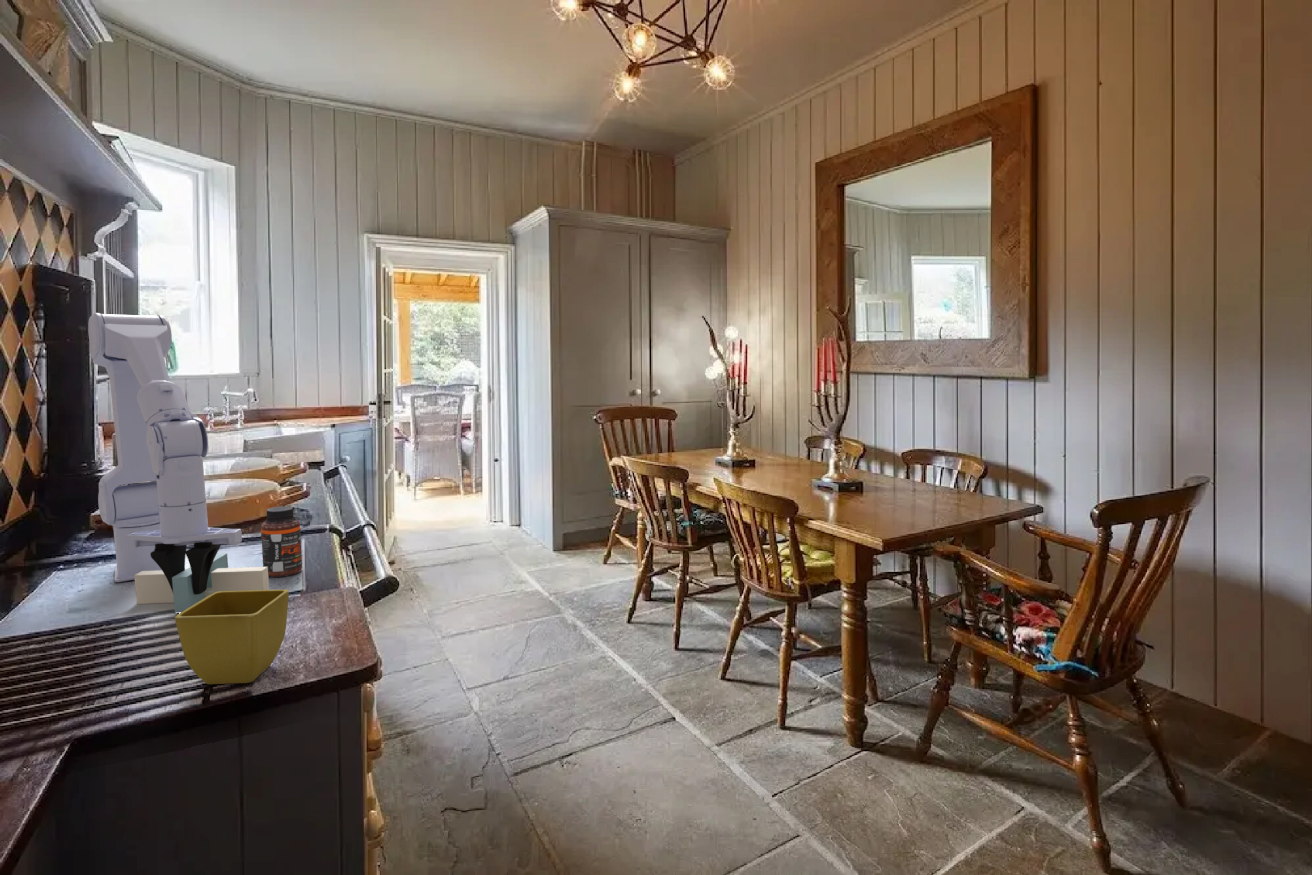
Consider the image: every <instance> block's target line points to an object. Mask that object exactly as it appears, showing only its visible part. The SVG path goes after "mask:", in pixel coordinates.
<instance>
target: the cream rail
mask: <svg viewBox="0 0 1312 875" xmlns="http://www.w3.org/2000/svg"><path fill="white" fill-rule="evenodd" d="M134 579H135V580H134V586H135V588H134V589H135V598H136V605H146V604H148V605H149V604H168V603H169V604H171V603H173V604H174V595H173V592H172V589H171V587H170V584H169V582H168V580H167V578H166V576H165V574H164V573H163V571H162V570H157V571H141V572H139V573H137V574H136V575H134ZM211 579H212V587H208V588H206V590H205V591H204V594H205V598H206V597H207V596H209V595H211V594H213V593H215V592H217V591H248V590H270V581H269V576H268V567H263V566H251V567H250V566H248V567H228V568H217V569H216V570H214V571H213V572H211Z"/></svg>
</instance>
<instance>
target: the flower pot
mask: <svg viewBox="0 0 1312 875" xmlns="http://www.w3.org/2000/svg"><path fill="white" fill-rule="evenodd" d="M289 593H290V590H289V589H269V590H248V591H217V592H215V593H213V594H211V595H209V596H207V597H206V598H204V599H202V600H201V601H199V602H197V603H196V604H194V605H193V606H191V607H189V608H188V609H186V610H185V611H183V612H181V613H180V614H176V616H174V621H175V626H176V629H177V633H178V637H179V641H180V642H179V643H180V645H181V646H180V647H181V650H182V652H183V656H184V658H185V661H186V662H187V665H188V666H189V668H190V669H191V670H192V671H193V673H194V674H196V676H197V677H199V679H200V680H201V681H203V682H204V683H205V684H207V685H224V684H226V685H227V684H248V683H252V682H254V681H255V680H256V679H257V678H258V677H259V676H260V675H261V674H262V673H263V672H265V671H266V670H267V669H268V668H269V667H270V666H271V665H273V663H274V660H275V659H276V656H277V654H278V653H279V651H280V648H281V646H282V644H283V641H284V637H285V634H286V628H287V619H288V608H289V607H288V606H289V597H290V596H289Z"/></svg>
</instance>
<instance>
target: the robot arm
mask: <svg viewBox="0 0 1312 875" xmlns="http://www.w3.org/2000/svg"><path fill="white" fill-rule="evenodd" d="M87 326H88V327H87V328H88V329H87V332H88V340H89V341H88V343H89V351H90V352H89V353H90V358H91V359H92V363H93V364H94V365H96V366H99V367H104V368H105V370H106V373H107V375H108V378H109V383H110V394H111V395H110V396H111V404H112V405H111V406H112V415H113V424H114V436H115V444H116V457H117V465H116V467H114V468H113V469H111V470H110V471H109V472H108V473H107V472H106V474H104V475H103V476H102V477H101V478H100V479H99V482H98V494H97V495H98V496H97V497H98V498H97V500H98V503H97V504H98V510H99V515H100V517H101V520H102V521H103V522H104V523H105V524H107V525H108V526H112V528H113V529H112V530H113V539H114V548H115V549H114V550H115V558H116V560H115V561H116V565H115V566H114V583H121V582H122V583H123V582H127V581H135V579H134V575H136V574H137V573H139V572H141V571H157V570H162V571H163V573H164V574H165V576H166V578H167V580H168V582H169V584H170V587H171V589H172V592H173V583H172V577H174V576H175V575H177V574H179V573H181V572H183V571H184V570H186V558H187V561H188V564H189V568H190V567H191V572H192V581H193V591H194V594H195V595H196V594H201V593H202V592H204V591H205V590H206V588H207V581H208V576H209V572H210V569H211V566H212V563H213V561H214V558H215V556H216V554H218V552H219V550H220V548H221V545H228V546H236V545H238V544H240V543H242V542H243V539H242V538H243V537H242V528H222V527H221V528H220V527H209V523H208V521H209V520H208V509H207V496H206V484H205V482H206V481H205V472H204V470H205V469H204V459H203V458H205V457H207V455H208V452H209V439H208V431H207V428H206V425H205V423H204V421H203V420H202V418H200V417H198V415H197V414H196V413H195V414H193V413H192V411H191V409H190V406H189V404H188V402H187V398H186V396H185V394H184V391H183V389H182V387H181V386H179V384H177V383H175V382H172V381H170V376H169V373H168V369H167V365H166V361H165V357H166V356H168V354H169V350H170V349H171V347H172V341H173V340H172V339H173V337H172V335H173V334H172V330H171V328H172V327H171V325H170V322H169V320H168V319H167V318H166V317H165V316H164V315H163V314H162V315H161V314H157V315H142V314H141V315H138V314H137V315H135V314H134V315H133V314H115V313H114V314H111V313H109V314H107V313H100V312H94V313H93V314H92V315H90V316H89V319H88V325H87ZM187 546H193V547H190V548H189V549H187Z"/></svg>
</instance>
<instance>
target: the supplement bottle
mask: <svg viewBox="0 0 1312 875" xmlns="http://www.w3.org/2000/svg"><path fill="white" fill-rule="evenodd" d="M301 531H302V530H301V522H300V521H299V519H298V518H296V517H295V516H294V507H292V506H287V505H285V506H274V507H269V508H267V509H266V519H265V521H263V522H262V524H261V526H260V532H261V533H260V537H261V553H262V567H268V577H270V578H271V577H272V578H280V577H289V576H292V575H296V574H297V573H300V571H302V569H303V554H302V553H303V551H302V537H301V535H302V534H301Z"/></svg>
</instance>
